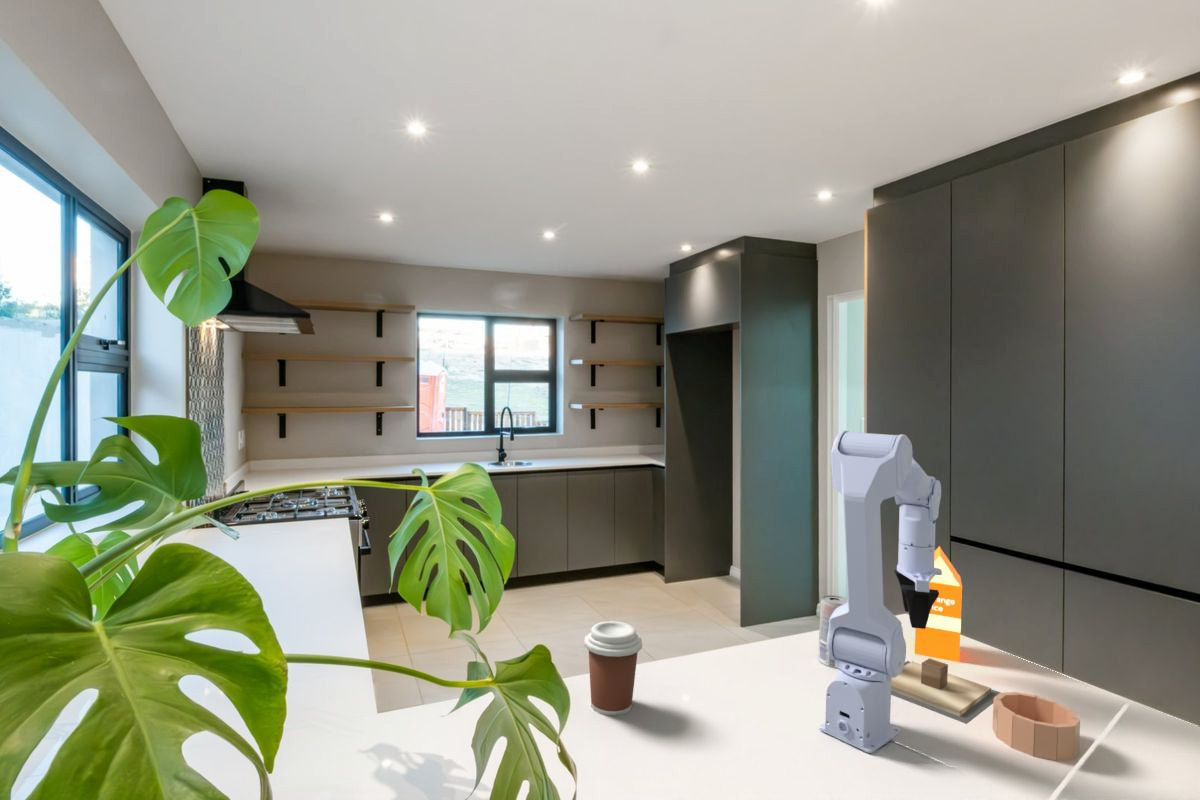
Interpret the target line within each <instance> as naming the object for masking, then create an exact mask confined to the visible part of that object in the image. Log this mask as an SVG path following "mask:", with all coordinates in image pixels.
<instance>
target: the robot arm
mask: <svg viewBox="0 0 1200 800" xmlns="http://www.w3.org/2000/svg"><path fill="white" fill-rule="evenodd" d="M913 452H914V451H913V445H912V441H911V440H910V439H909V437H908V436H907V435H906V434H902V433H901V434H884V433H871V432H869V433H868V432H854V431H852V432H851V431H848V430H841V431H840V432H839V433H838V434H837V435H836V436H835V438H834V441H833V445H832V448H831V451H830V461H831V478H832V485H833V486H832V487H833V488H834V489H835V490H836V491H837V492H839V493H840V494H841V495H842V505H843V522H844V543H845V544H844V545H845V567H846V570H845V571H846V590H847V599H848V602H847V603H845V604H843V605H841V606H839V607H838V608H836V609H835V610H834V612H833V613H832V615H831V617H830V619H829V631H828V635H827V650H828V653H829V655H830V657H831V658H832V659H833V660H835V667H837V668H839V669H838V672H837V675H836V677H835V678H834V680H833V681H831V682H830V683H829V684H828V687H827V689H826V695H825V697H826V698H825V719H824V720H825V721H824V723H822V724H820V725H819V730H820V731H821V732H824V733H826V734H828V735H829V736H832V737H834V738H836V739H839V740H840V741H842V742H844V743H846V744H850V745H851V746H853V747H854V748H858V749H860V750H862V751H863V752H866V753H868V754H872V753H873V752H876V751H877V750H879V748H881V747H882V746H884V745H885V744H887V743H888V742H890V741H891V740H893V738H894V737H896V736H898V735H900V733H901V732H902V729H901V727H898V726H896V725H893V724H892V723H891V708H892V707H891V706H892V705H891V704H892V695H891V682H892V678H895V677H897V676H898V675H899V674H900V673H901V672H902V670H903V667H904V663H905V662H906V657H907V644H906V643H907V642H906V639H905V637H904V631H903V630H904V629H903V626H902V621H901V620H900V619H899V618H898V617H896V615H894V613H893V612H891V611H890V610H889V609H888V608H887V607H886V606H885V604H884V583H883V582H884V581H883V576H884V575H883V551H882V550H883V549H882V547H883V546H882V525H881V524H882V523H881V518H882V517H881V504H882V503H883V501H885V500H887V499H891V498H893V497H894V501H895V505H898V506H899V510H898V512H899V514H898V515H899V519H898V520H899V521H898V554H897V555H898V556H897V557H898V558H897V565H896V569H895V570H894V574H895V576H896V577H897V580H898V584H899V587H900V590H901V591H900V592H901V597H902V603H903V607H904V612H906V613H907V612H908V617H909V618H908V619H909V623H910V625H911V628H913V629H916V628H920V629H925V628H926V625H927V622H928V618H929V614H930V611H931V608H932V606H933V604H934V602H935V600H936V599H937V598H938V596H939V592H938V590H933V589H929V586H930V581H931V580H932V578H933V577H934V576H935V575H942V571H941V569H939V568H934V562H935V550H936V549H935V548H936V522H937V521H936V520H937V519H938V518H939V513H940V511H939V509H940V503H941V498H942V485H941V482H940V480H938V479H936V477H934V476H932V475H931V476H930V475H928V474H927V473H926V472H925V470H924V469H923V468H922V466H920V464H919V463H918V462H917V461H916V460H915V458H914V456H913Z"/></svg>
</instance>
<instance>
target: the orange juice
mask: <svg viewBox="0 0 1200 800" xmlns="http://www.w3.org/2000/svg"><path fill="white" fill-rule="evenodd" d="M934 568H939V569H941V571H942V575H935V576H934V577H933V578H932V580H931V581H930V586H929V589H933V590H938V592H939V596H938V598H937V599H936V600H935V602H934V604H933V606H932V608H931V611H930V614H929V618H928V622H927V625H926V628H925V629H920V628H915V631H914V632H915V634H914V635H915V636H914V655H919V656H924V657H928V658H930V657H931V658H935V659H938V660H939V659H940V660H945V661H951V662H954V663H955V662H956V663H960V654H961V653H960V650H961V648H960V647H961V631H962V630H961V629H962V600H963V599H962V598H963V594H962V593H963V584H962V579H961V575H960V574H959V573H958V572H957V570H956V568H955V567H954V566H953V564H952V563H951V561H950V560H949V558H948V557H947V555H946V554H945V553H944V551H943V549H942V548H941V546H940V545H939V546H938V547H937V548H936V549H935V562H934Z"/></svg>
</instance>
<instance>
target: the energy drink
mask: <svg viewBox="0 0 1200 800" xmlns="http://www.w3.org/2000/svg"><path fill="white" fill-rule="evenodd" d="M847 602H848V597H844V596H840V595H832V594H830V595H828V594H827V595H824V596H822V597H821V600H820V611H819V613H820V614H819V637H818V638H819V639H818V640H819V641H818V662H819V663H820V664H821V665H823V666H825V667H828V668H831V669H836V670H837V669H838V670H839V668H837V667H835V660H833V659H832V658H831V657H830V655H829V653H828V650H827V635H828V631H829V619H830V617H831V615H832V613H833V612H834V610H835V609H836V608H838V607H839V606H841V605H843V604H845V603H847Z"/></svg>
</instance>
